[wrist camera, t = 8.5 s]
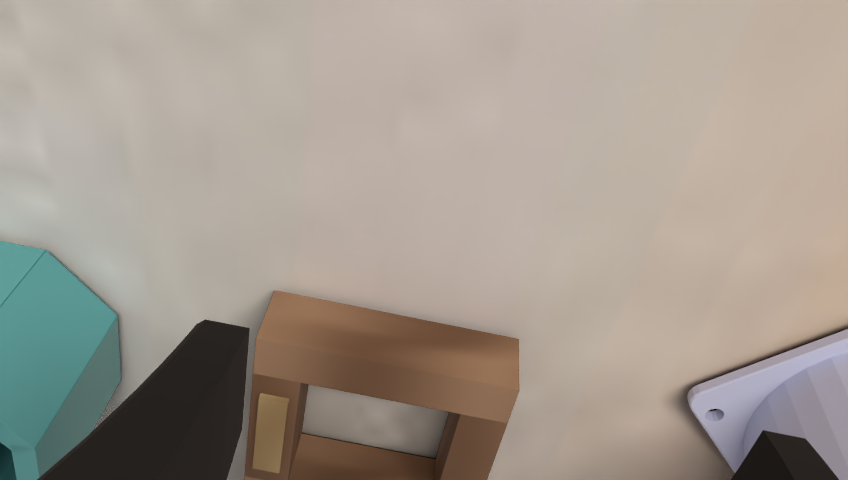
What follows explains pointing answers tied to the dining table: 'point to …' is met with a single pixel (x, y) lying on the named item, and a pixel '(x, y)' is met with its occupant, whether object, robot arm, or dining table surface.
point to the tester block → (375, 390)
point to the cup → (50, 361)
